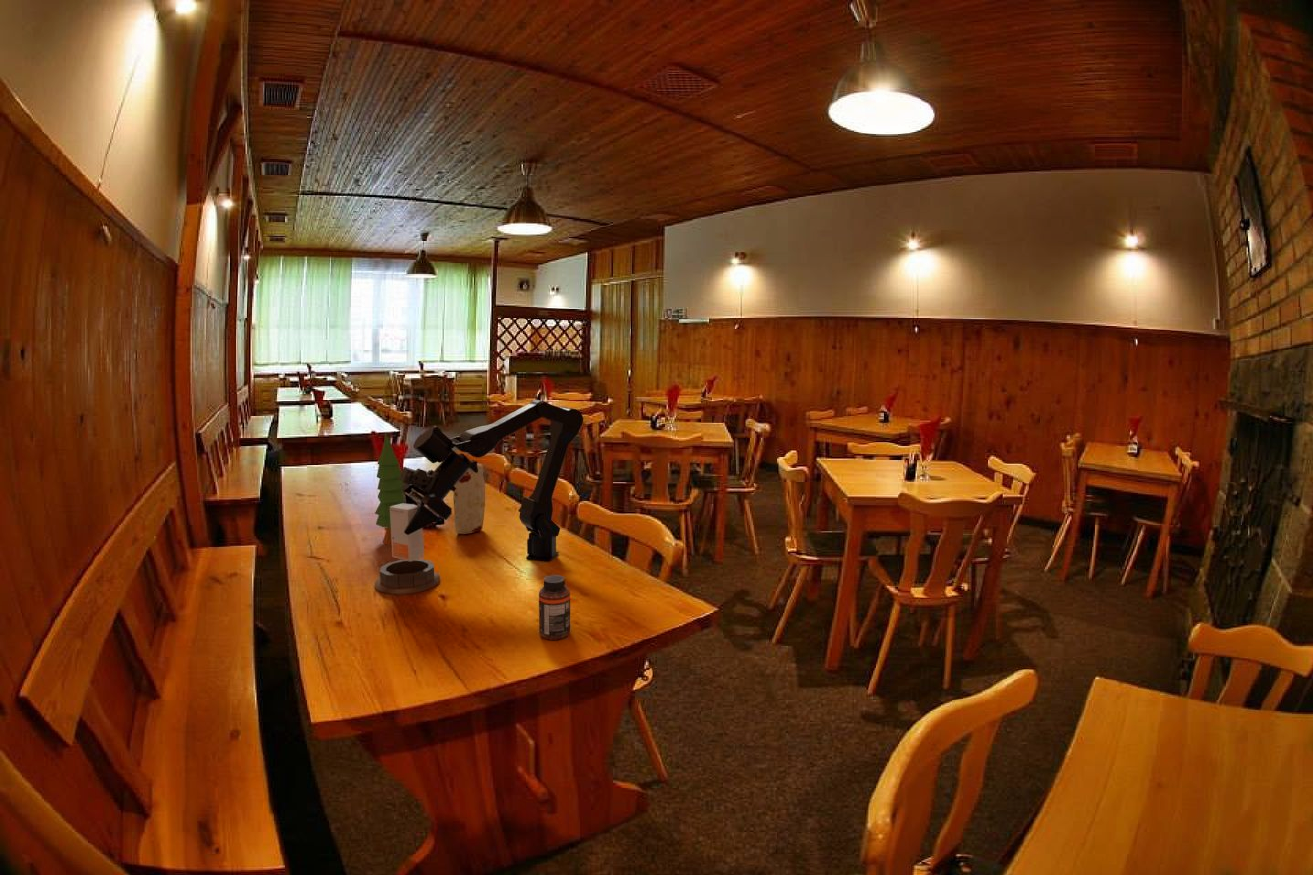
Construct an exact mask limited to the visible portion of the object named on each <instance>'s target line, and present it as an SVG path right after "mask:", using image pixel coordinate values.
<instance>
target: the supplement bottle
mask: <svg viewBox="0 0 1313 875" xmlns="http://www.w3.org/2000/svg"><path fill="white" fill-rule="evenodd" d="M565 578H566V577H564V576H562V575H560V574H559V575H558V574H552V575H546V576H545V577H544V578H543V587H541V589H540V590H539V592H538V631H539V633H538V634H539V635H540V637H541V638H544V639H545V640H550V641H557V640H563V639H565V638H567V637H568V636H569V635H570V633H571V592H570V589H569V588H568V587H567V586H566V579H565Z"/></svg>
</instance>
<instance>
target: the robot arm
mask: <svg viewBox="0 0 1313 875" xmlns="http://www.w3.org/2000/svg"><path fill="white" fill-rule="evenodd" d="M541 418H542V419H544V420H548V421H550V423H549V431H550V441H549V444H548V446H547V449H546V453H545V456H544V459H543V463H542V465H541V469H540V472H539V474H538V478H537V481H536V483H535V487H534V490H533V492H532V493H531V495H529V497H527V496H523V498H522V500H521V505H520V507H519V509H518V511H517V512H518V513H519V520H520V523H521V524H522V525H523V526H525V529H526V531H527V532H529V533H528V538H527V539H526V550H527V551H526V553H527V556H526V557H525V559H526V560H534V561H545V562H550V561H552V560H553V559H554V558H555V557H557V556H558V555H559V552H560V551H557V537H558V536H559V535H560V532H561V527H560V526H559V525H558V524H557V523H556V522H554V521H553V520H552V519H553V512H554V506H553V496H554V493H555V492H554V491H555V489H556V486H557V483H558V479H559V476H560V474H561V471H562V467H563V464H564V462H565V459H566V455H567V451H568V448H569V446H570V444H571V443H572V442H573V440H574V439H575V438H577V436H578V434H579V432H580V431H581V428H582V426H583V424H584V416H583V414H582V413H581V411H580V410H578V409H577V408H572V407H567V406H556V405H554V404H550V403H548V402H547V401H544V400H541V399H540V400H539V399H533V400H532V401H530V403H528V404H526V405H525V406H522V407H520V408H519V409H517V410H514V411H513V412H511V413H508V414H507V415H505V416H503V417H501V418H500V419H498V420H495V421H494V422H492V423H489V424H486V425H482V426H477V427H474V428H471V429H468V430H465V431H464V432H462V433H461V434H460V435H459V436H454V437H450V438H449V437H448V436H447V435H446V434H445V433H443V431H442V430H441V429H440V428H439V427H438V426H436V425H432V426H431V427H430V428H429V429H427V430H425V431H424V432H423V433H421V434H419V435H418V436H417V438H416V439H415V440H414V443H413V445H412V446H413V448H414V450H416V451H417V452H418V453H419V454H421V455H422V456H423V457H424V458H425V459H426V460H428V461H429V462H430V463H431V464H435V463H439V465H438V466H437V467H436V468H435V470H433V469H430V470H428V471H427V470H425V469H421V468H419V467H418V468H417V469H412V468H410V467H406V466H403V468H402V469H401V471H402V472H401V475H400V477H399V480H402V482H403V483H405V484H404V485H403V486H402V487H401V489H402V490H403V491H404V492H406V494H405V493H404V492H402V495H403V499H404V503H406V504H414V505H417V512H416V514H415V515H414V517H413V518H412V520H411V521H410V523H409V524H408V526H407V527H406V529H405V531H404V533H405V534H407V535H409V534H411V533H413V532H415V531H417V530H419V529H421V528H425V527H427V526H429V525H432V524H433V523H436V522H438V521H442V519H443V520H445V521H447V520H448V519H450V516H452V514H453V511H452V510H453V509H452V507H451V506H450V505H449V504H447V503H445V501H443V500H444V499H445V498H446V497H447V495H448V494H449V493H450V492H451V491H452V493H454V491H455V490H456V489H457V488H456V487H454V486H455V485H456V484H457V482H458V481H459V480H460V479H461V478H462V476H463V475H464V474H465V473H466V472H467V471H468V469H469V470H471V471H473V472H475V473H478V467H477V463H478V460H475V459H470V458H469V457H468V456H467V455H469V456H471V457H474V458H476V459H477V458H483V457H485V456H486V455H487V454H488V453H490V452H491V451H493V450H494V449H495V448H496V447H497V445H498V444H499V443H500V442H501V441H502V440H503V439H505V438H507V437H510V435H512V434H514V433H517V431H520V430H521V429H523V428H525V427H526V426H528V425H530V424H532V423H534V422H536V421H538V420H539V419H541ZM455 450H456V451H459V452H462V453H457V452H456V451H455ZM466 454H467V455H466ZM441 518H442V519H441Z"/></svg>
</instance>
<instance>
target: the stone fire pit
mask: <svg viewBox="0 0 1313 875" xmlns="http://www.w3.org/2000/svg"><path fill="white" fill-rule="evenodd" d="M440 583H441V575H440V574H439V573H437V572H436V571H435V563H434V562H432V561H430V560H429V559H422V558H419V559H417V560H414V561H411V562H409V561H406V560H402V559H398V560H395V561H390V562H388V563H386V564H384V565H382V566H380V570H379V577H378V578H377V579H376V580H375V582H374V588H375V590H376V591H377V592H380V593H381V594H387V595H392V596H397V595H399V596H401V595H413V594H419V593H422V592H426V591H428V590H431V589H433V588H435V587H437V586H438V585H439V584H440Z"/></svg>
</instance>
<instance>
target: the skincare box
mask: <svg viewBox="0 0 1313 875" xmlns="http://www.w3.org/2000/svg"><path fill="white" fill-rule="evenodd" d="M416 512H417V505H414V504H406V503H402V504H398V505H394V506H390V524H391V542H392V544H391V557H392V558H395V559H398V560H406V561H409V562H411V561H414V560H417V559H422V558H424V557H425V548H424V547H425V546H424V529H423V528H424V527H423V528H421V529H419V530H417V531H415V532H413V533H411V534H409V535H407V534H405V533H404V531H405V529H406V527H407V526H408V524H409V523H410V521H411V520H412V518H413V517H414V515H415V514H416Z"/></svg>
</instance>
